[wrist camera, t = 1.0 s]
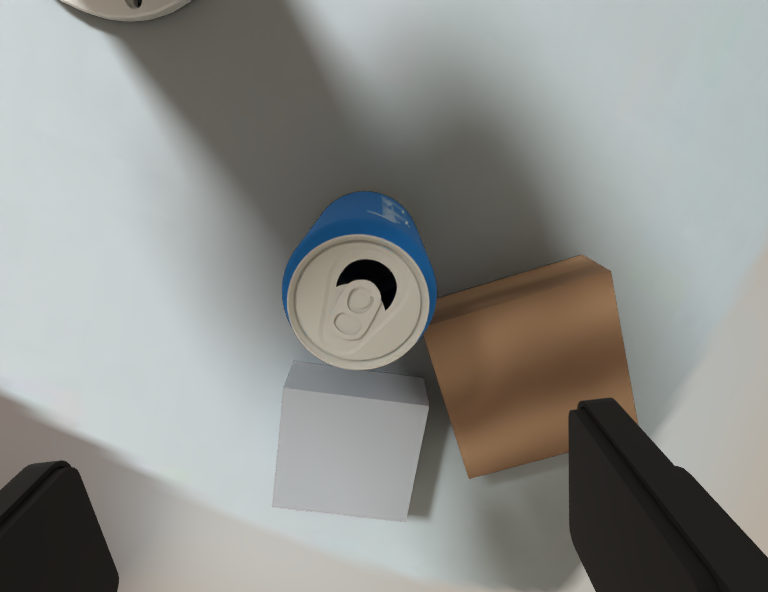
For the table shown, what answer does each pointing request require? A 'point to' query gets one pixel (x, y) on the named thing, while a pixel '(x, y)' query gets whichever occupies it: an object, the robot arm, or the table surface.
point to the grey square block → (349, 441)
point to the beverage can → (360, 283)
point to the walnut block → (527, 360)
